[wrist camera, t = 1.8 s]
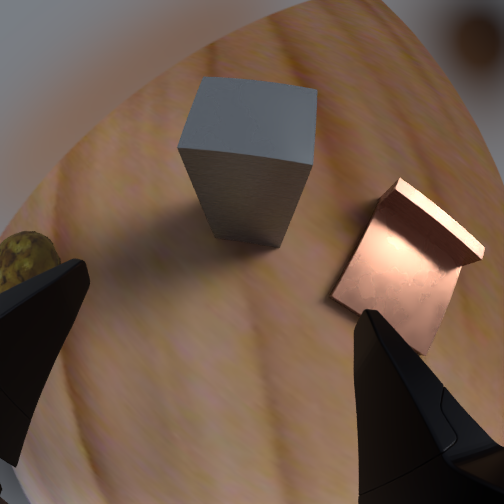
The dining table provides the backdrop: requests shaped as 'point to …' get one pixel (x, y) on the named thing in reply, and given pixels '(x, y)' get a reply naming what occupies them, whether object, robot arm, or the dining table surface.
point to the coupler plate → (407, 265)
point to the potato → (25, 258)
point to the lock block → (249, 155)
